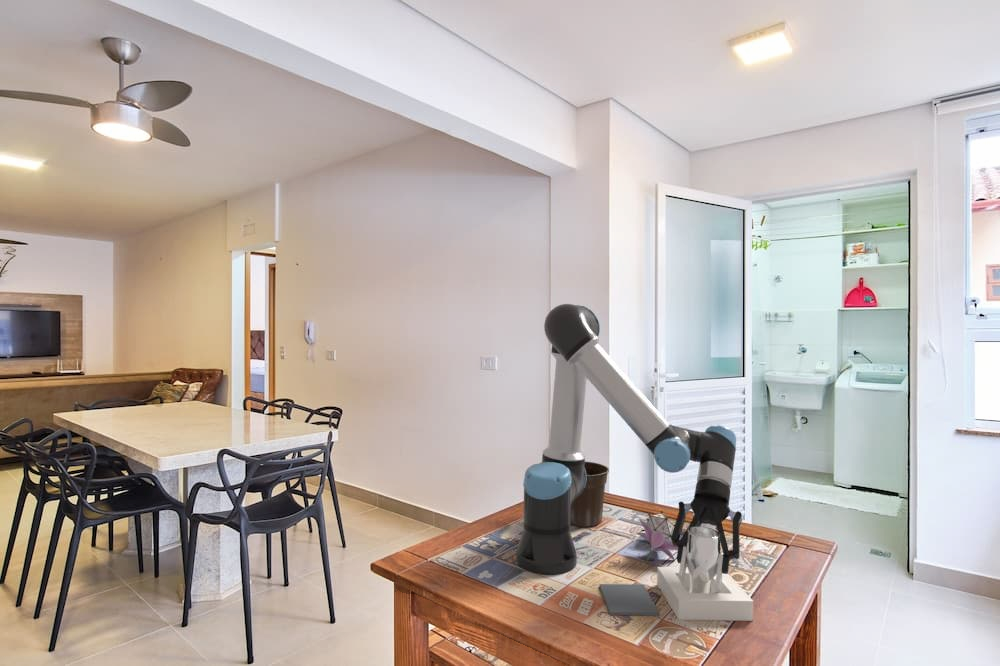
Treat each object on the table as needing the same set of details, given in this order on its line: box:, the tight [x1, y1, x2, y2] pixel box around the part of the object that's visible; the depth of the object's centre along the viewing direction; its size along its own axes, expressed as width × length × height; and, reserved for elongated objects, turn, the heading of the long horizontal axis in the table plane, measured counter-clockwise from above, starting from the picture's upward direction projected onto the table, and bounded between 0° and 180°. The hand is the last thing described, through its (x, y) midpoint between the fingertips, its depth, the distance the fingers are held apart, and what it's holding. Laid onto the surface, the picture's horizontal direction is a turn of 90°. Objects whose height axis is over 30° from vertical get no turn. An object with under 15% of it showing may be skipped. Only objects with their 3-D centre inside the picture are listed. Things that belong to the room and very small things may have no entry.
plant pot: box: [570, 460, 610, 528], centre depth 165 cm, size 16×16×16 cm
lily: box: [636, 518, 678, 564], centre depth 137 cm, size 12×12×10 cm
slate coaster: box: [599, 583, 660, 616], centre depth 117 cm, size 10×12×1 cm
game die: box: [640, 510, 675, 540], centre depth 149 cm, size 9×8×10 cm
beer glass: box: [686, 526, 722, 593], centre depth 117 cm, size 7×7×15 cm
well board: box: [656, 566, 755, 622], centre depth 117 cm, size 15×15×4 cm
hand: (699, 582), depth 114 cm, fingers closed on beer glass, 7 cm apart
